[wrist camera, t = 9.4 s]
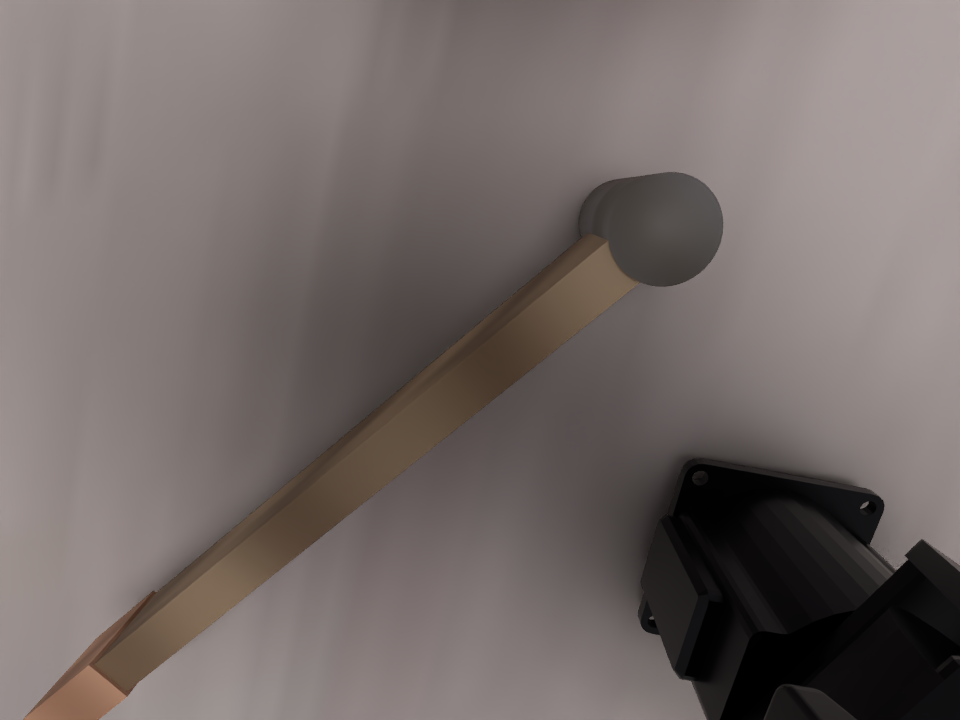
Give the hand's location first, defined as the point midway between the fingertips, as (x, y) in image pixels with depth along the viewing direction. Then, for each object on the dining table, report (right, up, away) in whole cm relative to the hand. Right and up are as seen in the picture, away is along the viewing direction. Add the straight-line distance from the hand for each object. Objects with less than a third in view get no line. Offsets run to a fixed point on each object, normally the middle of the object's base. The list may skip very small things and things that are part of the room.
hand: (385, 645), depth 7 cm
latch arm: (-3, +1, +13) cm, 13 cm away
